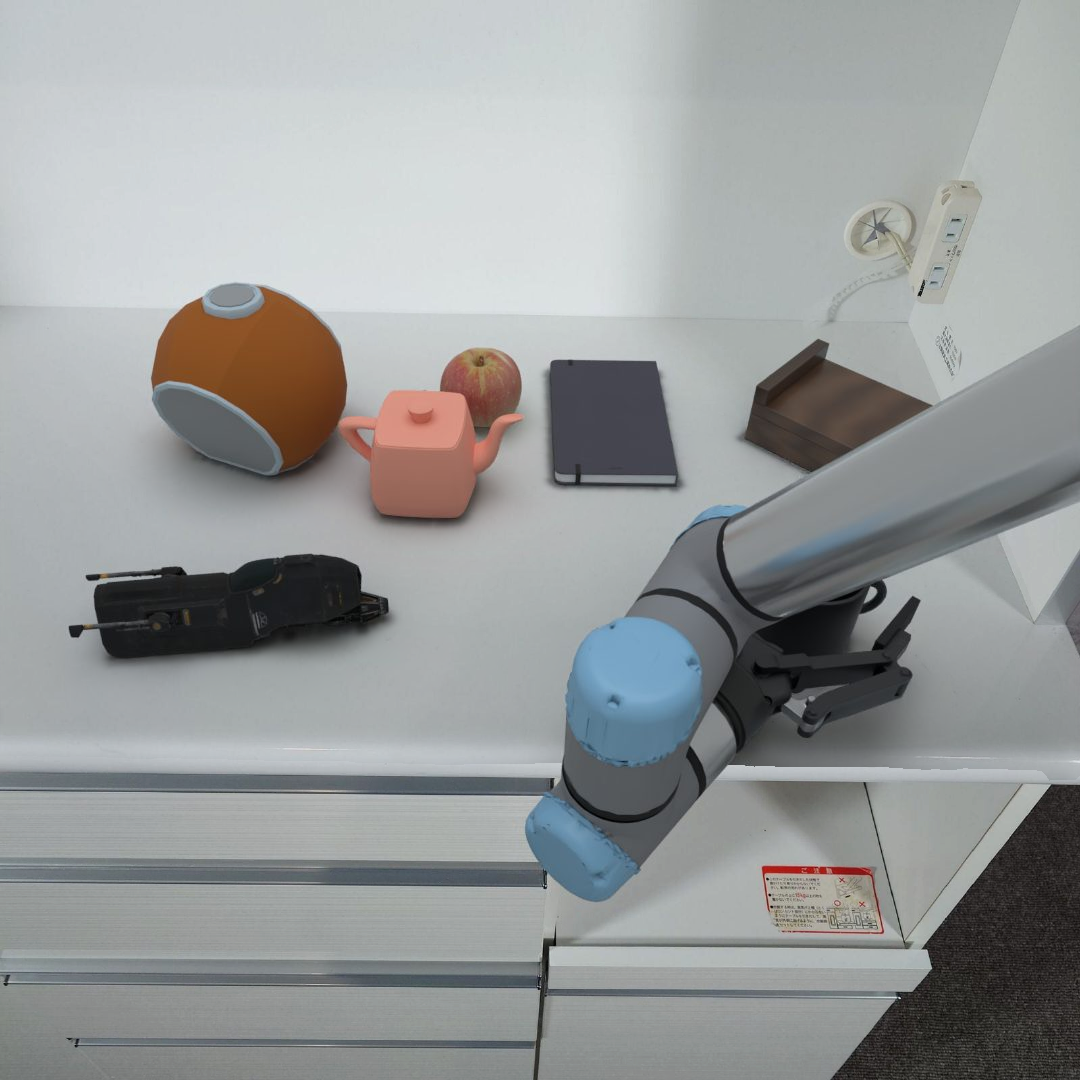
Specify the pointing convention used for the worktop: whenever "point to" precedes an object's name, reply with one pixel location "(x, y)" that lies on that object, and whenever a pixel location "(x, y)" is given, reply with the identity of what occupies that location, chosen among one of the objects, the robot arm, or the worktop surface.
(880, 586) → the mug
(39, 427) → the worktop surface
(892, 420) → the wooden stand
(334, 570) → the black toy vehicle
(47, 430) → the worktop surface
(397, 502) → the teapot
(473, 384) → the apple
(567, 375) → the notebook
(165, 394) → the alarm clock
